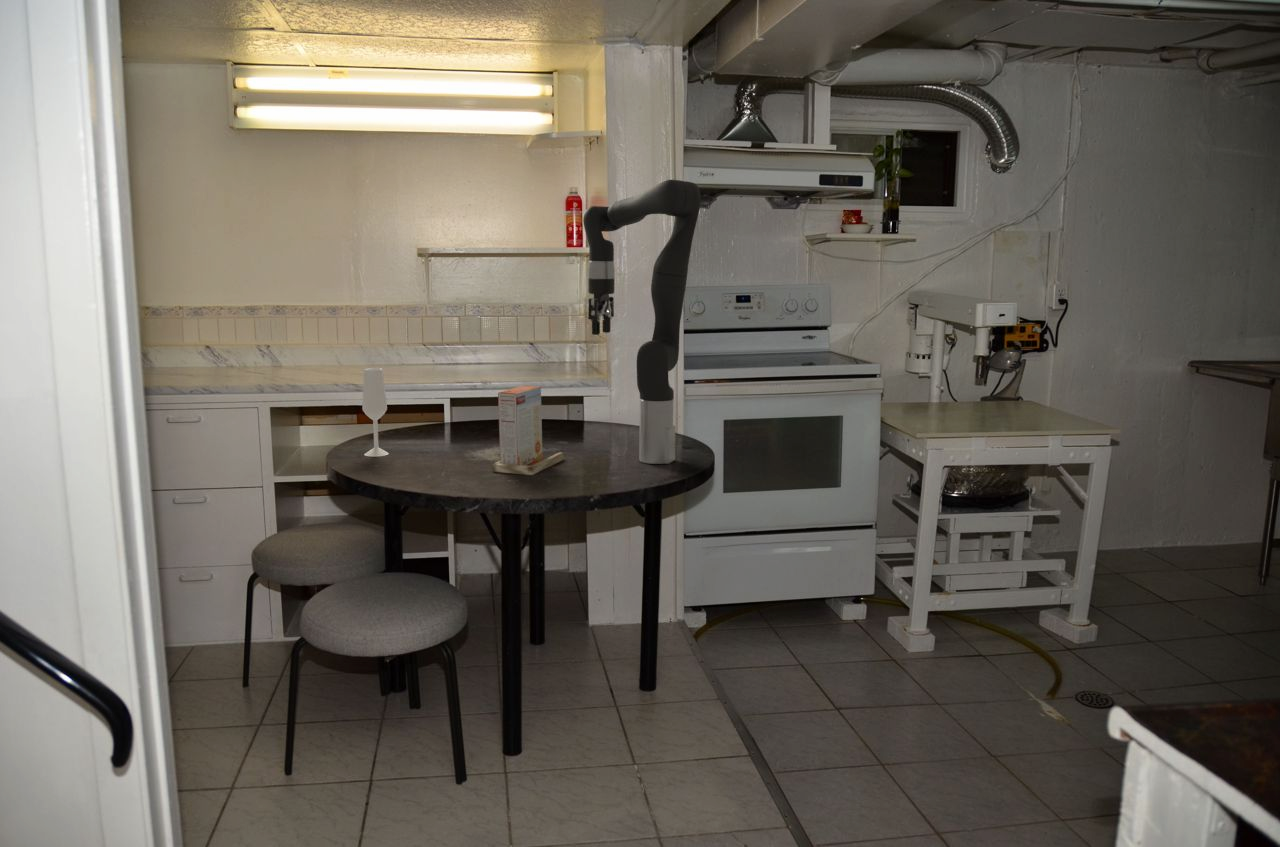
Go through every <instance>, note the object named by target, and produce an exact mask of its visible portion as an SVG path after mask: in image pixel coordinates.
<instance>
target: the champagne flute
mask: <svg viewBox="0 0 1280 847" xmlns="http://www.w3.org/2000/svg"><path fill="white" fill-rule="evenodd" d="M363 371H364V374H363V391H362V408H361V409H362V412H364V413H363V414H365V416H367V417H368V418H369V419H370V420H372V423H373V425H372V426H373V430H372V431H373V448H372V449H370V450H368V451H367V452H365V453H364V456H366V457H384V456H388V455H389V452H387V451H386V450H384V449H382V448H380V447H379V427H378V426H379V425H378V424H379V423H378V420H379V419H381V418H382V417H383V416H384V415H385V413H387V410H388V406H387V405H388V404H387V396H386V388H385V382H384V381H385V380H384V374H383V368H380V367H369V368H364V370H363Z"/></svg>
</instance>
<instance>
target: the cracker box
mask: <svg viewBox="0 0 1280 847" xmlns="http://www.w3.org/2000/svg"><path fill="white" fill-rule="evenodd" d="M497 399H498V400H497V403H498V429H499V430H498V432H499V461H500V464H511V465H522V466H531V465H533V464H535V463H538V462H540V461H542V460H543V428H542V427H543V426H542V424H543V422H542V421H543V420H542V387H541V386H540V385H539V386H538V385H537V386H536V385H535V386H534V385H521V386H518V387H513V388H511V389H507V390H506V389H505V390H503V391H500V392H498V393H497Z"/></svg>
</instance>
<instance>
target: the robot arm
mask: <svg viewBox="0 0 1280 847" xmlns="http://www.w3.org/2000/svg"><path fill="white" fill-rule="evenodd" d="M701 196H702V195H701V191H700V187H699V186H698V185H697V184H696V183H694V182H693V181H692V182H691V181H687V180H680V179H679V180H678V179H666V180H664V181H661V182H660V183H658V184H656V185H655V186H653V187H651V188H650V189H648V190H646V191H643V192H642V193H639V194H637V195H634V196H631V197H628V198H624V199H620V200H616V201H614V202H613V203H611V204H610V205H609V206H601V205H599V206H598V205H592V206H591V205H590V206H589V207H587V209H585V212H584V213H583V218H582V220H583V227H584V228H583V229H584V232H585V236H586V238H587V243H588V246H589V249H588V251H589V252H588V253H589V254H588V257H589V258H588V260H589V263H588V271H587V272H588V274H587V275H588V282H587V283H588V293H589V294H590V295H593V297H592V298H588V320H590V322H591V334H592V335H593V336H598V335H601V334H600V333H601V322H600V321H601V318H602V333H605V334H607V333H608V334H609V333H610V332H611V320H612V319H613V318H614V316H615V311H614V309H615V305H614V304H615V303H614V302H615V301H614V300H615V298H614V296H610V295H613V294H615V264H614V263H615V262H614V261H615V260H614V258H615V252H614V250H615V249H614V248H615V247H614V243H613V241H611V240H607V239H606V238H604V236H603V233H602V232H608V233H609V232H615V231H617V230H619V229H622V228H623V227H625V226H629V225H634V224H637V223H639V222H641V221H642V220H644V219H645V218H646V217H647V216H649V215H666V216H670V217H674V223H673V228H672V231H671V235H670V237H669V239H668V240H667V242H666V244H665V246H664V247H663V249H662V250H661V251H660V253H659V255H658V257H657V258H656V259H655V262H654V264H653V267H652V268H653V269H652V278H651V286H650V293H651V301H652V306H653V311H654V328H653V334H652V337H651V340H648V341H647V342H644V343H643V344H642V345H641V346H640V347H639V349H638V351H637V355H636V384H637V386H636V387H637V390H638V392H639V433H638V434H639V436H638V437H639V439H638V440H639V441H638V442H639V446H638V447H639V449H638V450H639V451H638V455H639V456H638V458H639V459H638V460H639V462H640V463H644V464H651V465H652V464H653V465H654V464H655V465H657V464H659V465H660V464H661V465H663V464H670V463H672V462H673V461H675V460H676V426H675V425H674V406H675V405H674V403H675V402H674V399H675V398H674V397H675V395H674V393H675V391H674V388H672V387H671V385H670V382H669V372H670V371H672V370H673V369H674V368H675V367H676V365H677V363H678V360H679V355H680V332H681V330H680V329H681V319H682V314H683V306H684V298H685V292H686V287H687V282H688V281H687V280H688V273H689V264H690V257H691V256H690V255H691V251H692V246H693V245H692V244H693V239H694V234H695V230H696V226H697V221H698V218H699V213H700V208H701V201H702V199H701Z"/></svg>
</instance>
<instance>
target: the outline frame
mask: <svg viewBox="0 0 1280 847" xmlns="http://www.w3.org/2000/svg"><path fill="white" fill-rule="evenodd" d="M563 460H564V452H557V453H555V454H552V455H550V456H548V457H547V458H544V459H542V461H540V462H538V463H535V464H533V465H531V466H522V465H511V464H500V460H498V461H496V462H494V463H492V464H491V472H493V473H506V474H517V475H526V476H527V475H528V476H534V475H536V474H537V473H539V472H541V471H543V470H545V469H548V468H549V467H552V466H553V465H555V464H557V463H560V462H561V461H563Z"/></svg>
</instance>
